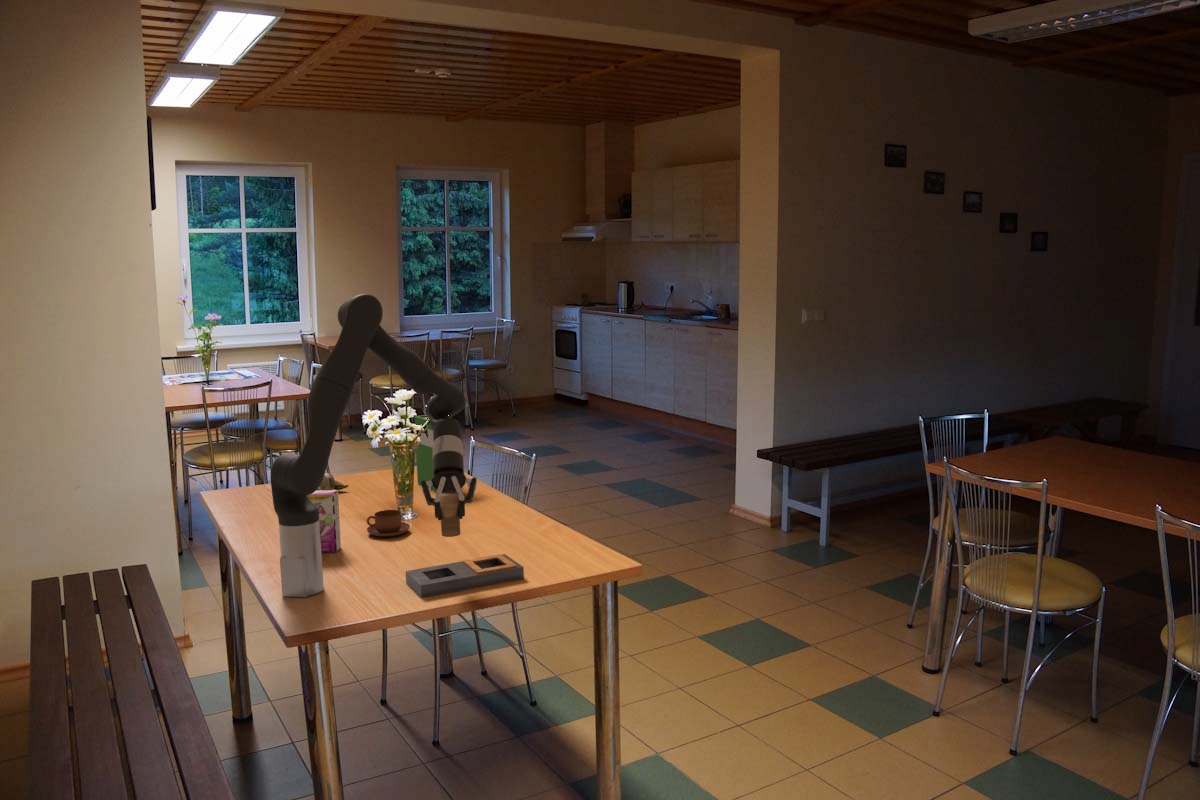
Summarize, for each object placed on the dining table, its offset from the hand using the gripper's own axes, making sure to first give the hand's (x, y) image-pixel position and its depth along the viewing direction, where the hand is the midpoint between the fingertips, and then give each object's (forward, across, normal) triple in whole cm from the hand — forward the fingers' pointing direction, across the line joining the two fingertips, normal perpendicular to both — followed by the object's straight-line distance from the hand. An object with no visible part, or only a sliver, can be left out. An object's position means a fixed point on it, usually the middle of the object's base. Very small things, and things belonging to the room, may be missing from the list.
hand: (450, 517), depth 231 cm
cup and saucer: (-22, -18, +46) cm, 54 cm away
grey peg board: (+10, +3, +14) cm, 17 cm away
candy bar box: (-13, -36, +37) cm, 53 cm away
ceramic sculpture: (-59, -44, +85) cm, 112 cm away
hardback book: (-59, -5, +84) cm, 103 cm away
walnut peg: (+2, 0, +5) cm, 5 cm away
